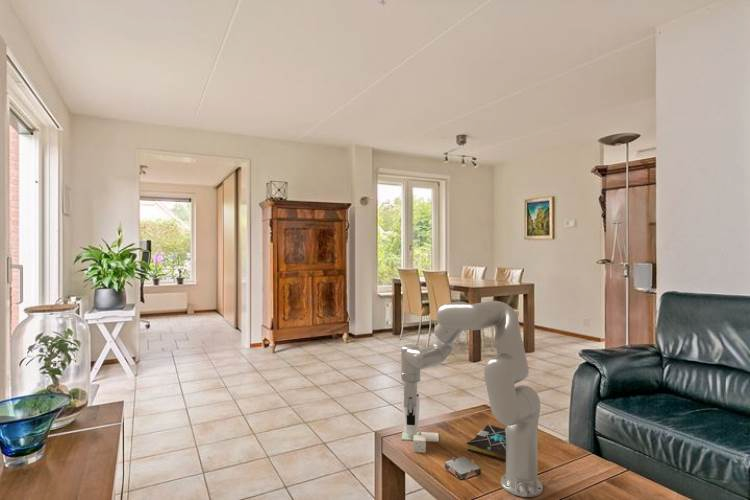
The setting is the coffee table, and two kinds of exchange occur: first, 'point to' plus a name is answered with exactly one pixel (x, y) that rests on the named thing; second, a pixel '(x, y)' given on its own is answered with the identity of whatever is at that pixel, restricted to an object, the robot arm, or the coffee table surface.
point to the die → (419, 443)
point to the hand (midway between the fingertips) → (411, 420)
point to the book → (490, 442)
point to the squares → (429, 436)
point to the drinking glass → (414, 428)
